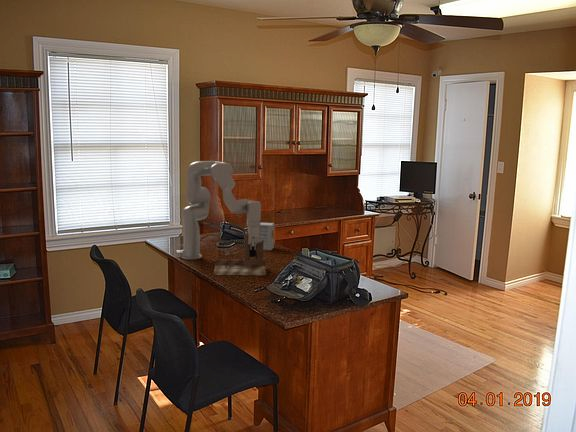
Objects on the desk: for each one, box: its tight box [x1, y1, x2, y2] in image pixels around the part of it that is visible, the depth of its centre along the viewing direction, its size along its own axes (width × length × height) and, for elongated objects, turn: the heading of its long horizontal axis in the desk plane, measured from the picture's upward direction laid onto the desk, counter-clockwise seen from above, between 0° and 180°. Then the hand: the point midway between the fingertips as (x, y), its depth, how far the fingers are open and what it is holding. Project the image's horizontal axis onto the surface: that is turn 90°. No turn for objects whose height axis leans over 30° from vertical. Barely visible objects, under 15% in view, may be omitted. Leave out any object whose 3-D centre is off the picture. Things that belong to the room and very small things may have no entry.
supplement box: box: [257, 222, 275, 251], centre depth 334 cm, size 10×9×17 cm
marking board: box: [213, 258, 267, 276], centre depth 280 cm, size 28×14×5 cm, turn 94°
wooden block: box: [242, 232, 264, 266], centre depth 281 cm, size 4×11×18 cm, turn 108°
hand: (252, 255), depth 282 cm, fingers closed on wooden block, 4 cm apart
